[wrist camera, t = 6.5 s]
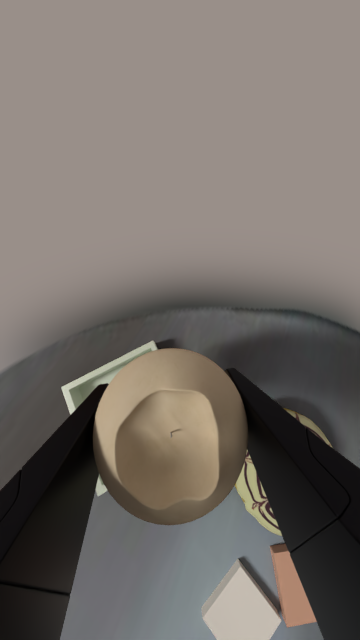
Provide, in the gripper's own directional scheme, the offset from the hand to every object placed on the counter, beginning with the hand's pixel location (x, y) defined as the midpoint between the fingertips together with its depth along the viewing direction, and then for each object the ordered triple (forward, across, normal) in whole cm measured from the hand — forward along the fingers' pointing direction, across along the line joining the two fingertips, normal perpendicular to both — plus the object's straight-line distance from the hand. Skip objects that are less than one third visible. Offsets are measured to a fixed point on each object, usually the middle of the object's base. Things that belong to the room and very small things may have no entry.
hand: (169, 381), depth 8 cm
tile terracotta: (-4, -10, +24) cm, 27 cm away
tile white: (-5, -4, +25) cm, 26 cm away
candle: (+4, 0, +6) cm, 7 cm away
